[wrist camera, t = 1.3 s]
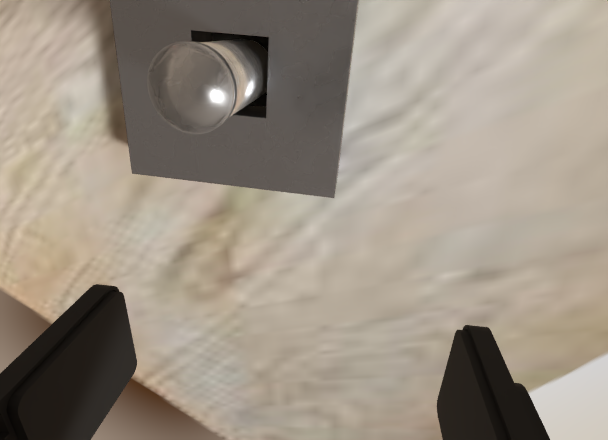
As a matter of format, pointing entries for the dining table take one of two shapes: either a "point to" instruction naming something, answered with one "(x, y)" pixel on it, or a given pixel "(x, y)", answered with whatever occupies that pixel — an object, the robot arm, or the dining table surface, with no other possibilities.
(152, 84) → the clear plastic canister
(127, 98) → the housing
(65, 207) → the dining table surface
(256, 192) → the dining table surface
